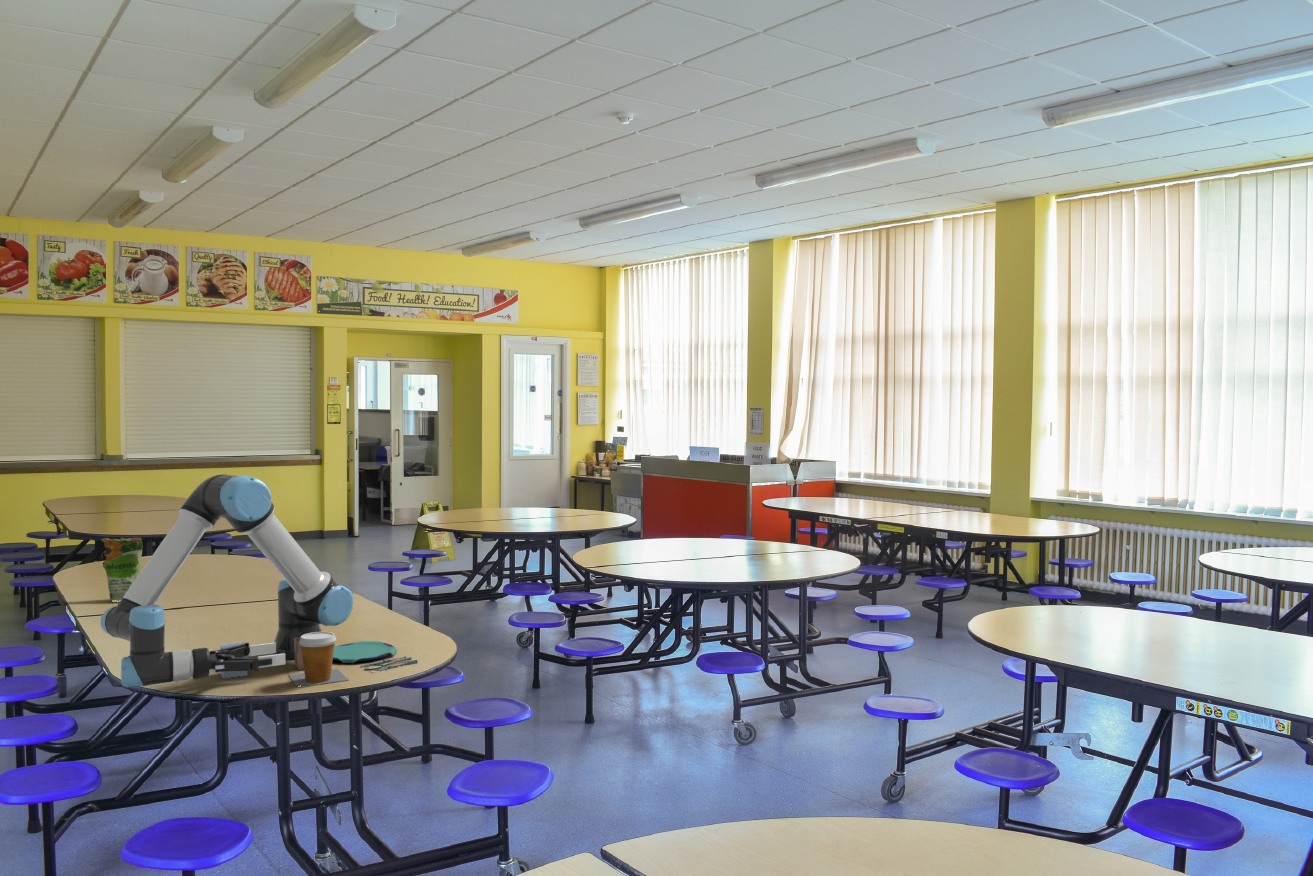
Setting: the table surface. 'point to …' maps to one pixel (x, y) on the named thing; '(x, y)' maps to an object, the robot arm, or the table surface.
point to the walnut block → (298, 654)
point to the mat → (335, 677)
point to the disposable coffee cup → (317, 655)
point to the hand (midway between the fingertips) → (280, 653)
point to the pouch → (122, 564)
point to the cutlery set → (368, 654)
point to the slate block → (232, 673)
